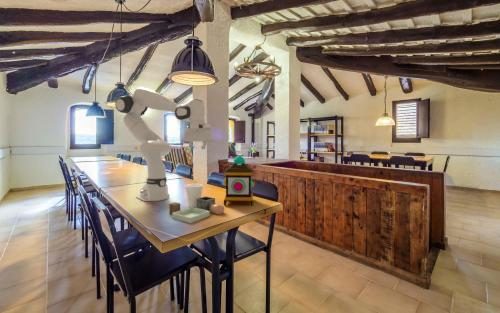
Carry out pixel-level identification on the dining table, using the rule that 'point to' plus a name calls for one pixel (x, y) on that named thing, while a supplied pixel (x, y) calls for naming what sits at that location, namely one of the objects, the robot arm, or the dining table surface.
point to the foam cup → (193, 193)
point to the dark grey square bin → (205, 203)
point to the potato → (216, 209)
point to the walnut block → (174, 207)
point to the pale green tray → (190, 214)
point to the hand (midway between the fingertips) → (197, 149)
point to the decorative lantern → (238, 182)
